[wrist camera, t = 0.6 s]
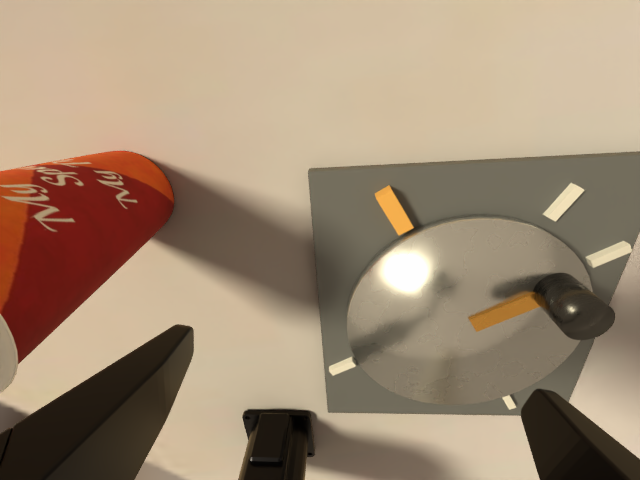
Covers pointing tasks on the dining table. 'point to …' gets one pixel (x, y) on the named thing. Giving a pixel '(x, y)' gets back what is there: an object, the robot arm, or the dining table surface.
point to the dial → (471, 309)
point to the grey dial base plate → (452, 200)
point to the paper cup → (69, 239)
